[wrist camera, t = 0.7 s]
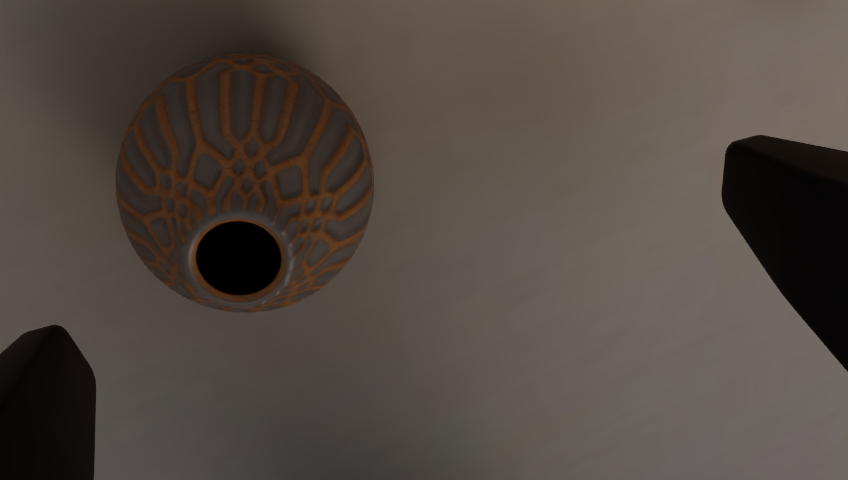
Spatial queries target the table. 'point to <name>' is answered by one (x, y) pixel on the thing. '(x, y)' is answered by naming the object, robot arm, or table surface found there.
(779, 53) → the table surface
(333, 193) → the vase
